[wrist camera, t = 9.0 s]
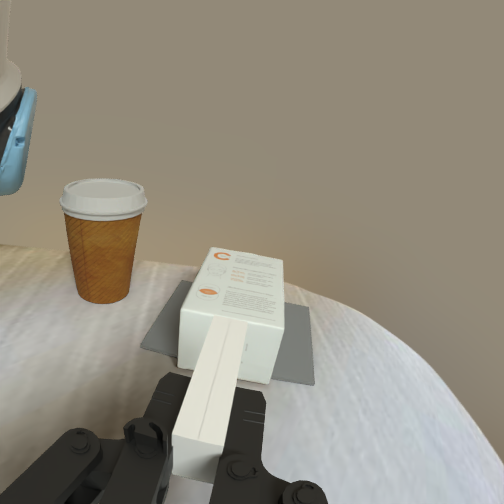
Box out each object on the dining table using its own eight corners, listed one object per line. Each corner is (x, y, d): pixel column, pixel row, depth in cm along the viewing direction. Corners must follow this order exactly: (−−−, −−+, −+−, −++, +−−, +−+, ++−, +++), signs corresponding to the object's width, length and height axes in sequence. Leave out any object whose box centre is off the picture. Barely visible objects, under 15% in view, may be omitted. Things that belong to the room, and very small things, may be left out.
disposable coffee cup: (112, 263, 41) (115, 174, 36) (159, 294, 37) (167, 192, 32) (51, 284, 33) (46, 183, 29) (91, 323, 29) (86, 205, 24)
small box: (268, 387, 26) (272, 307, 38) (286, 329, 23) (284, 258, 35) (174, 368, 26) (204, 294, 38) (177, 308, 23) (210, 244, 36)
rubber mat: (140, 347, 28) (140, 344, 28) (181, 282, 40) (182, 280, 40) (313, 385, 27) (314, 383, 27) (308, 309, 40) (308, 307, 40)
